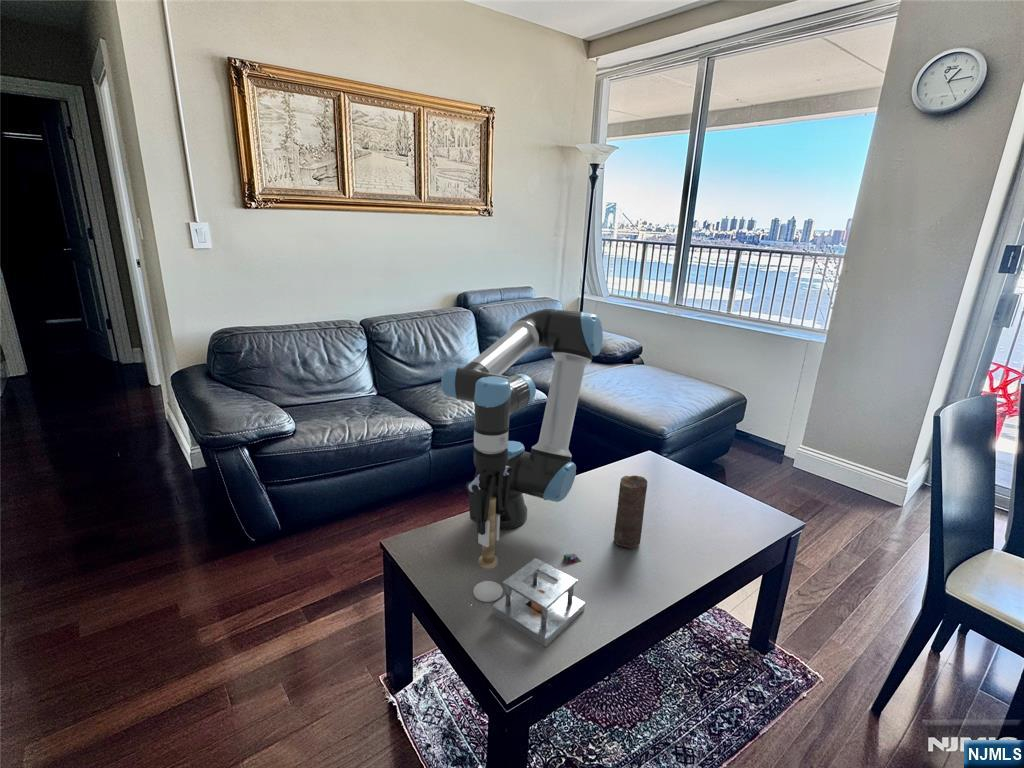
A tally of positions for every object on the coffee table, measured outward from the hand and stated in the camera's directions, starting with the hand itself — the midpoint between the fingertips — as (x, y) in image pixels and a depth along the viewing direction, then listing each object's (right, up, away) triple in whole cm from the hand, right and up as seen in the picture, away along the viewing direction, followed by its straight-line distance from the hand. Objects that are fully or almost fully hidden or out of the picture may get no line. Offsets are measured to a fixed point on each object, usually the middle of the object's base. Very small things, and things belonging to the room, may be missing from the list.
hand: (488, 541), depth 120 cm
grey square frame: (+11, -16, -1) cm, 19 cm away
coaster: (0, -13, +4) cm, 14 cm away
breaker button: (+11, -15, -2) cm, 19 cm away
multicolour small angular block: (+21, -11, +18) cm, 30 cm away
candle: (+37, -9, +25) cm, 46 cm away
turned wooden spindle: (0, -6, +2) cm, 6 cm away
